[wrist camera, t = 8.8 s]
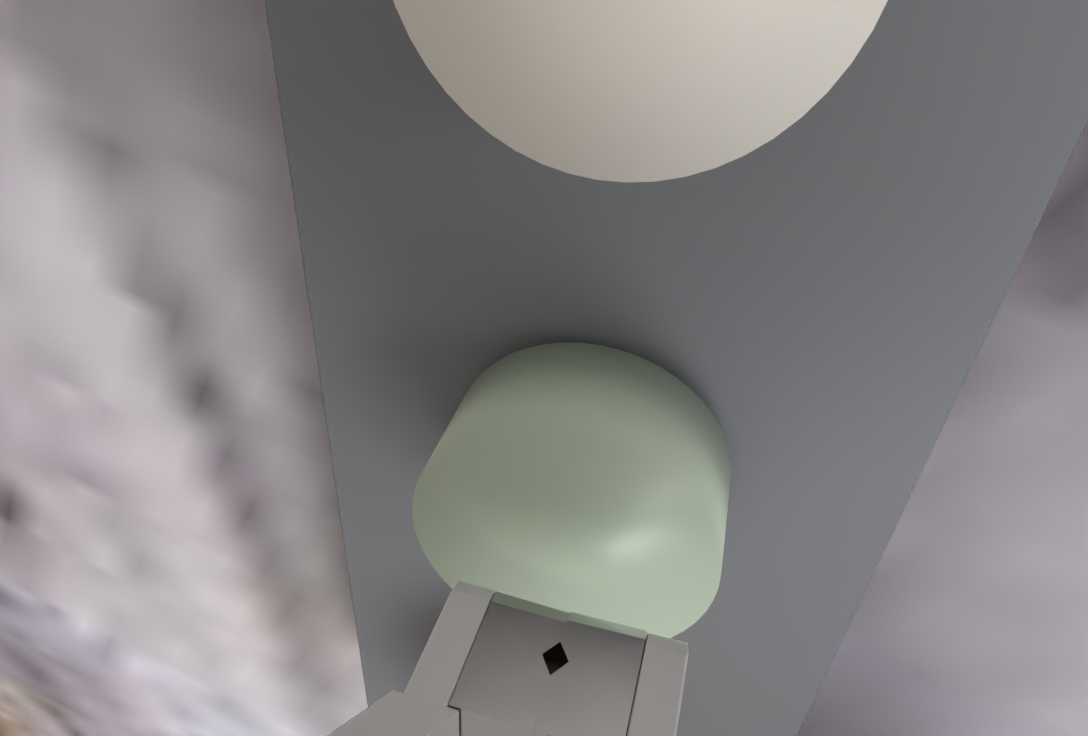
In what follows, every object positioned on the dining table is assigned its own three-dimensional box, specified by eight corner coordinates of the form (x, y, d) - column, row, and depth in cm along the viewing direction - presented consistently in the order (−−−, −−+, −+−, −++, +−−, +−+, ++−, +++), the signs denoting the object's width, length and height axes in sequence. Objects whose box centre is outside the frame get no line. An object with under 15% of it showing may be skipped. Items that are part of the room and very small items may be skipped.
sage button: (765, 285, 13) (753, 468, 10) (716, 478, 16) (691, 679, 12) (506, 239, 14) (404, 394, 10) (501, 432, 17) (417, 608, 13)
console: (1341, -732, 7) (1618, -1005, 5) (743, 751, 22) (736, 862, 20) (315, -691, 9) (137, -873, 6) (416, 661, 24) (375, 753, 22)
